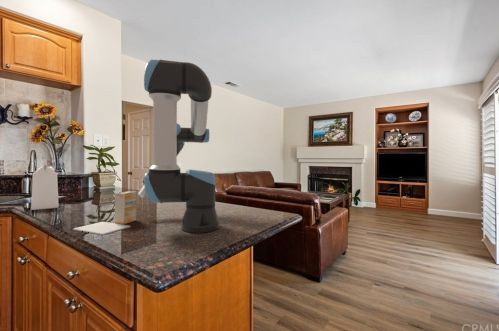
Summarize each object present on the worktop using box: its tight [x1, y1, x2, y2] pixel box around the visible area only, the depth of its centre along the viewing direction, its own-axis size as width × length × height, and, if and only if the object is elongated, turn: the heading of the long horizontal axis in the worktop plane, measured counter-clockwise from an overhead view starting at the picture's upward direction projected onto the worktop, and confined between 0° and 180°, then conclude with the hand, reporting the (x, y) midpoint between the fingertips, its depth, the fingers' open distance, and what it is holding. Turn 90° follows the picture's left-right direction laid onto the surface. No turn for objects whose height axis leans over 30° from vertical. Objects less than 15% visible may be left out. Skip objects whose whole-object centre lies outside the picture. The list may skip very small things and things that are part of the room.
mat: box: [72, 221, 131, 236], centre depth 98 cm, size 16×12×1 cm
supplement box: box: [114, 190, 138, 225], centre depth 108 cm, size 8×5×13 cm, turn 168°
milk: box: [30, 159, 59, 211], centre depth 140 cm, size 12×12×26 cm
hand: (140, 195), depth 116 cm, fingers closed
